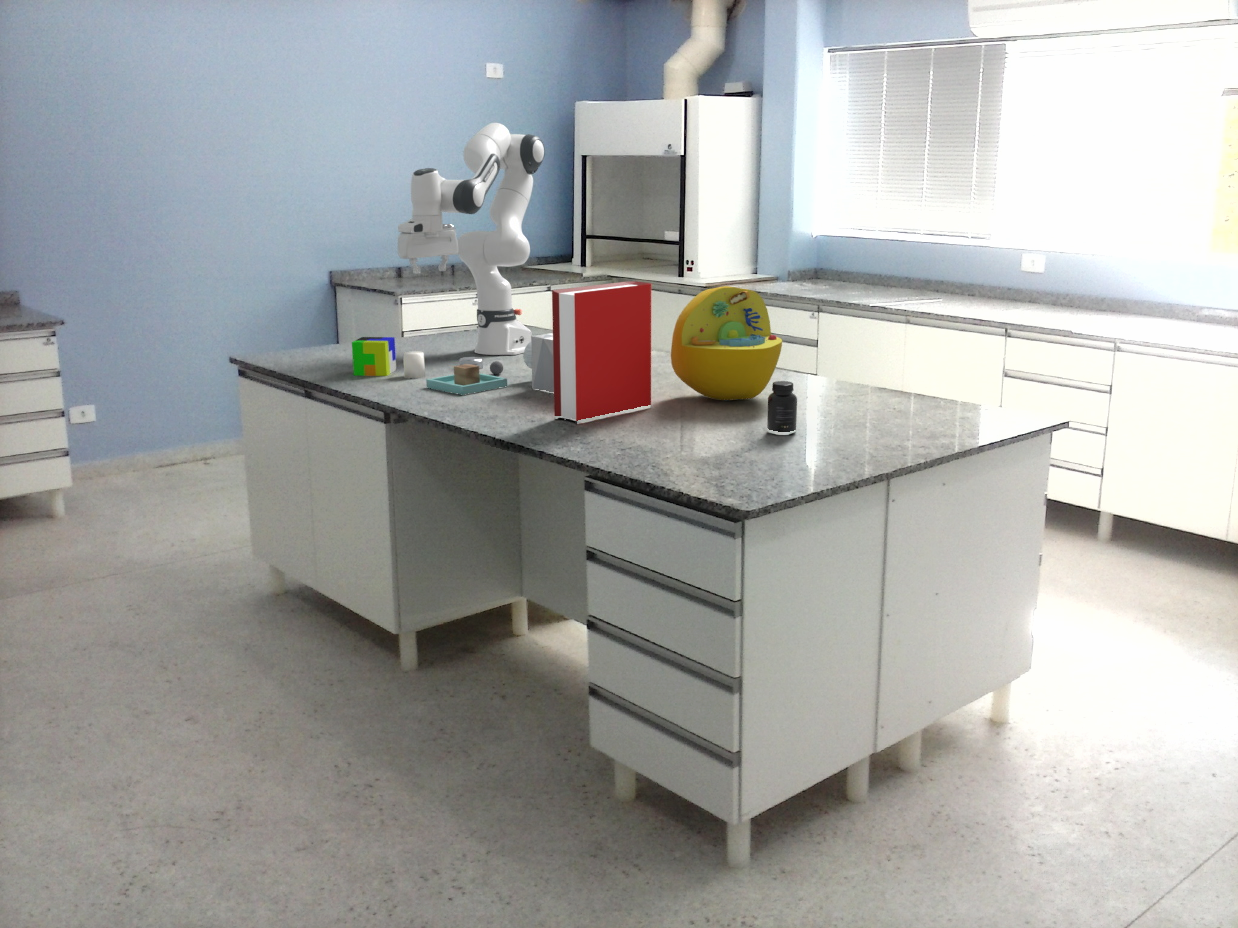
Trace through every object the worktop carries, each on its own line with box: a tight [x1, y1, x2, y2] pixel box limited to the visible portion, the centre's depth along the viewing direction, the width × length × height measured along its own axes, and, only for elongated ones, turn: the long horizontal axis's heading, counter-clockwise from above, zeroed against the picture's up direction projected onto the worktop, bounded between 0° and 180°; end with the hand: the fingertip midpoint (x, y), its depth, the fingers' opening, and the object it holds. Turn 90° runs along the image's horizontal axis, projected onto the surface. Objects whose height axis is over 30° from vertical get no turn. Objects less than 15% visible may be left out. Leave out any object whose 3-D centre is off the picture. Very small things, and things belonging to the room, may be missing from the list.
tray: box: [425, 372, 508, 396], centre depth 330 cm, size 16×16×2 cm
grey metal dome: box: [459, 356, 484, 370], centre depth 358 cm, size 7×7×3 cm
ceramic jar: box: [402, 350, 426, 379], centre depth 345 cm, size 6×6×7 cm
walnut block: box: [453, 364, 480, 386], centre depth 329 cm, size 5×5×5 cm
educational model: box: [670, 285, 783, 401], centre depth 308 cm, size 29×30×30 cm
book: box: [551, 280, 652, 421], centre depth 293 cm, size 27×8×32 cm, turn 134°
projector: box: [523, 332, 554, 392], centre depth 326 cm, size 35×19×15 cm, turn 42°
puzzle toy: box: [351, 336, 397, 377], centre depth 351 cm, size 10×10×10 cm
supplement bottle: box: [766, 380, 798, 432], centre depth 275 cm, size 7×7×12 cm
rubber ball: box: [489, 360, 504, 376], centre depth 347 cm, size 4×4×4 cm
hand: (429, 272), depth 350 cm, fingers open, 8 cm apart
